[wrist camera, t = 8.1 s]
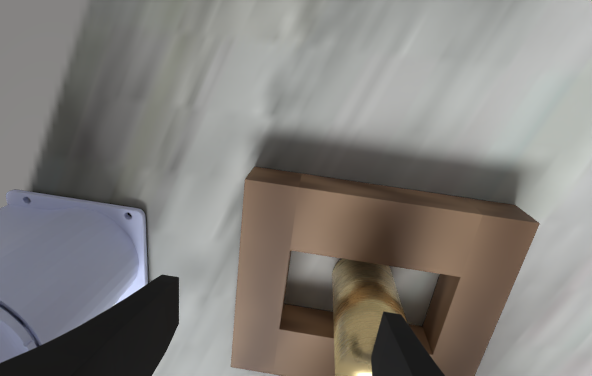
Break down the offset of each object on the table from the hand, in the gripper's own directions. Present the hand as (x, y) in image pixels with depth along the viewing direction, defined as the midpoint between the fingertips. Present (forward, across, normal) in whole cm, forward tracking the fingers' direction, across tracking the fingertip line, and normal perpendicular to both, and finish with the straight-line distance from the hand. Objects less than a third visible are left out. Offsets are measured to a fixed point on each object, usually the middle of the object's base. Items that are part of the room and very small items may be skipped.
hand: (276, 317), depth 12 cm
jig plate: (+10, -5, +5) cm, 13 cm away
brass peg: (+10, -5, +5) cm, 12 cm away
